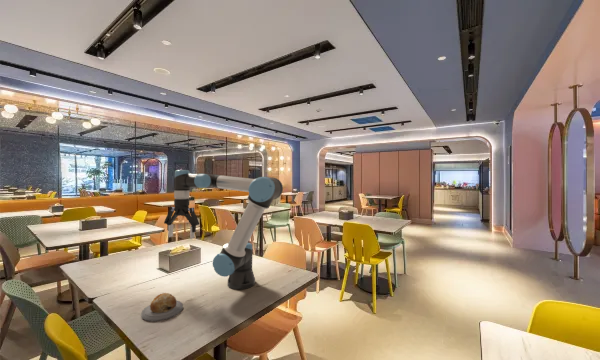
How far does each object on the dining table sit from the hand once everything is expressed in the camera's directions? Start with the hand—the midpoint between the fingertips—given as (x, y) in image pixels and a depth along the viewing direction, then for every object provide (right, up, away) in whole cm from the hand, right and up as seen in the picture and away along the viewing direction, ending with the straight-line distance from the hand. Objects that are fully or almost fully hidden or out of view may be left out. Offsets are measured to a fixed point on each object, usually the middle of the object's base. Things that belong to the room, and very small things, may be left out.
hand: (181, 237), depth 137 cm
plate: (+4, -27, -26) cm, 37 cm away
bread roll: (+4, -25, -26) cm, 36 cm away
